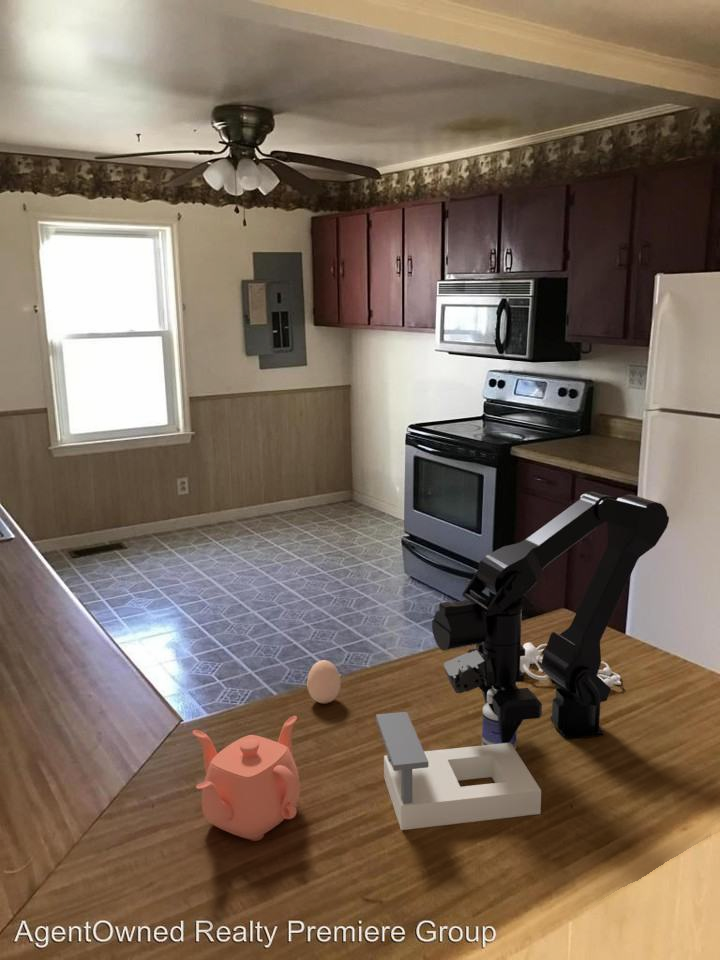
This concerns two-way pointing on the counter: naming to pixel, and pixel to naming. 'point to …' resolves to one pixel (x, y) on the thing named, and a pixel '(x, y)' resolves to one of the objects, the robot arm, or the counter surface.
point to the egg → (323, 682)
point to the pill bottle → (492, 724)
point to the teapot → (250, 783)
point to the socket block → (452, 779)
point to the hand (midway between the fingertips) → (499, 732)
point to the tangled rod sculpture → (533, 658)
